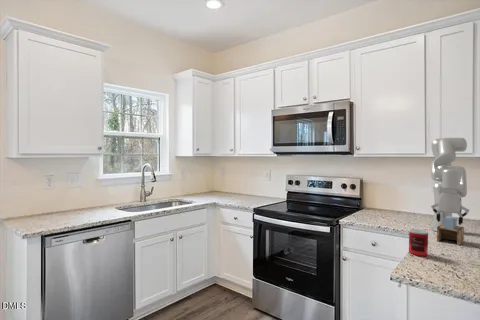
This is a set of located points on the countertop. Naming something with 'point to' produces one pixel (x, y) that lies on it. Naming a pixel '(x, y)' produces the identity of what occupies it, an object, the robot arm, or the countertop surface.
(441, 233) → the cubby
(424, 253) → the canned food
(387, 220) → the countertop surface
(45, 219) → the countertop surface
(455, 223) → the bar
